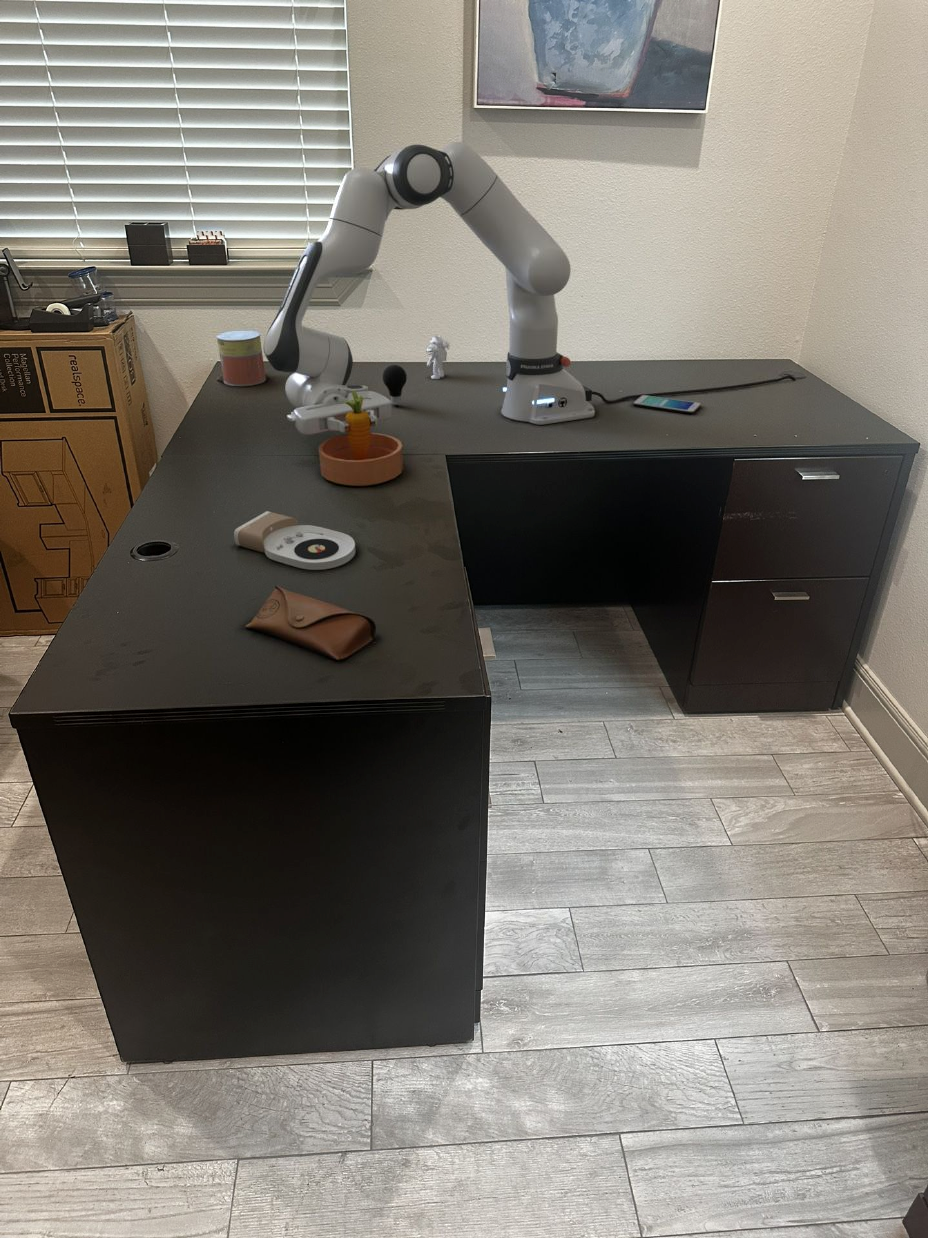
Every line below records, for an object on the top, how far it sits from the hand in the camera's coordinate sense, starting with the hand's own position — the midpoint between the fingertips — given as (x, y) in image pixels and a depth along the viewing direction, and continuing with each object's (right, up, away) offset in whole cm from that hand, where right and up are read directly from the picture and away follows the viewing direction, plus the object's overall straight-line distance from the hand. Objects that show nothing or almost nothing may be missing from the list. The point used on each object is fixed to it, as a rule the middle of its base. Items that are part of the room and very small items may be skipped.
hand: (360, 424), depth 164 cm
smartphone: (+70, +14, +41) cm, 83 cm away
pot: (0, -8, +6) cm, 10 cm away
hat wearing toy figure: (+13, +28, +65) cm, 72 cm away
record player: (-7, -27, -23) cm, 36 cm away
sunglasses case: (-2, -40, -45) cm, 61 cm away
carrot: (0, -7, +6) cm, 9 cm away
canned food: (-39, +27, +63) cm, 79 cm away
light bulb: (+4, +15, +43) cm, 46 cm away
